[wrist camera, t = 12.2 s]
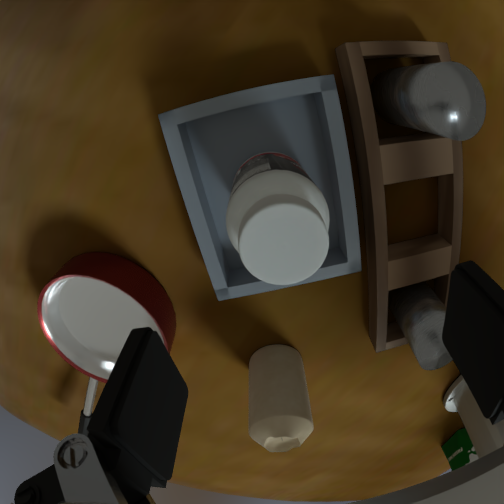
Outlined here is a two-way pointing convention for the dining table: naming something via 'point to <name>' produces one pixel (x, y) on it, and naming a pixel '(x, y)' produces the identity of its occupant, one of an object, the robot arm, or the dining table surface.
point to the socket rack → (399, 170)
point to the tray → (252, 143)
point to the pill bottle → (277, 219)
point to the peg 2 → (421, 322)
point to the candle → (278, 398)
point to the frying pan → (101, 315)
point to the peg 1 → (431, 99)
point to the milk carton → (459, 450)
